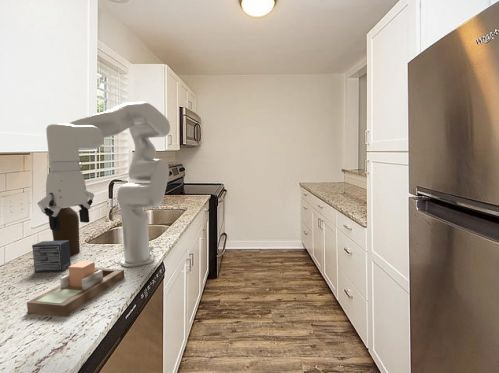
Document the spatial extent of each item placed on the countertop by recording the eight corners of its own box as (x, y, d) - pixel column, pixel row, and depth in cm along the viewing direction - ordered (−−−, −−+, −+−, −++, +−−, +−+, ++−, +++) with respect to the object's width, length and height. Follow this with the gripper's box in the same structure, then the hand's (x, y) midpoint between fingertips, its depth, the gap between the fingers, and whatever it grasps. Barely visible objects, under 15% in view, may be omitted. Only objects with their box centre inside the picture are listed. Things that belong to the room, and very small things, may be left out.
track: (94, 276, 109) (93, 259, 108) (124, 278, 107) (123, 261, 106) (27, 312, 84) (25, 291, 83) (65, 316, 81) (63, 294, 81)
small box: (72, 265, 121) (70, 239, 120) (62, 271, 114) (60, 244, 113) (44, 266, 120) (42, 240, 119) (33, 272, 114) (31, 245, 113)
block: (82, 279, 99) (80, 261, 98) (95, 280, 98) (94, 261, 97) (70, 285, 94) (68, 266, 93) (84, 286, 93) (82, 267, 92)
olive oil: (77, 255, 133) (73, 198, 131) (49, 258, 130) (44, 199, 128) (83, 248, 143) (79, 195, 141) (58, 251, 141) (53, 196, 138)
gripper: (81, 166, 98) (86, 219, 100) (25, 169, 82) (32, 232, 84) (99, 166, 95) (103, 220, 97) (45, 169, 79) (52, 234, 81)
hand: (70, 225), depth 91 cm, fingers open, 9 cm apart
